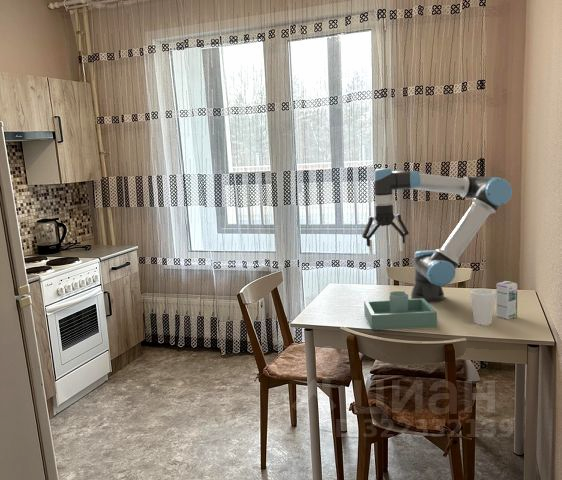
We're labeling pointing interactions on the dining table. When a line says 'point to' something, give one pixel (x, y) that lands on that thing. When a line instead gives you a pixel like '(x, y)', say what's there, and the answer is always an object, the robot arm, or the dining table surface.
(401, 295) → the cup
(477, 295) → the foam cup
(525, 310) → the dining table surface
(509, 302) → the syrup box
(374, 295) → the dining table surface
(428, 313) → the tray
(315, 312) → the dining table surface
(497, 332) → the dining table surface
